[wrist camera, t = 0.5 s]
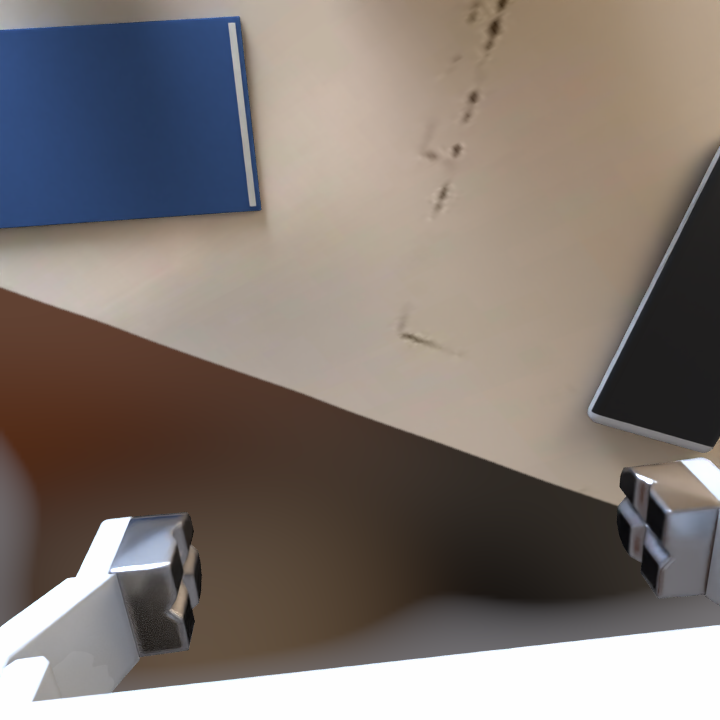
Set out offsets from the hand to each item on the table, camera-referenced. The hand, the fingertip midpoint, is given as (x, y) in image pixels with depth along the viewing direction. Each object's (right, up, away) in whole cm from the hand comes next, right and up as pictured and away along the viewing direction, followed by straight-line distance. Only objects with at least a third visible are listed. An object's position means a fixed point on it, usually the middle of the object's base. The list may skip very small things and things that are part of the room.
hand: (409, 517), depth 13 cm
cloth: (-20, +21, +39) cm, 48 cm away
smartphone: (+31, +8, +48) cm, 57 cm away
